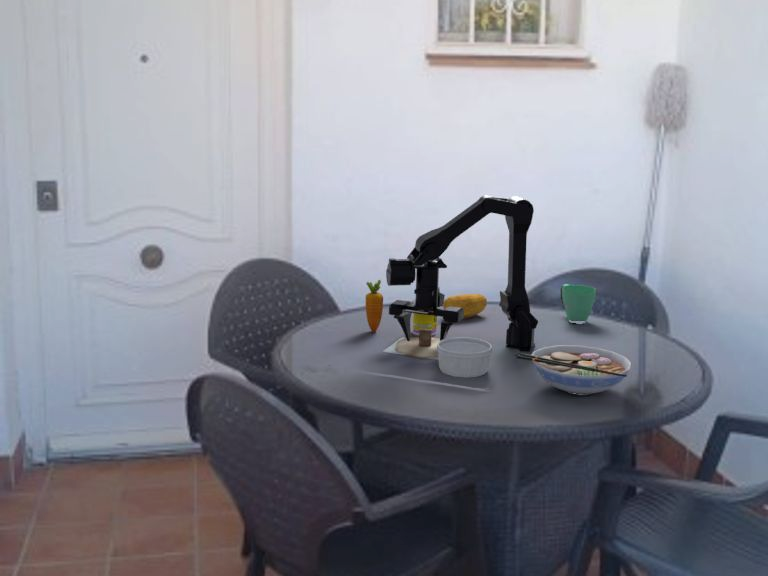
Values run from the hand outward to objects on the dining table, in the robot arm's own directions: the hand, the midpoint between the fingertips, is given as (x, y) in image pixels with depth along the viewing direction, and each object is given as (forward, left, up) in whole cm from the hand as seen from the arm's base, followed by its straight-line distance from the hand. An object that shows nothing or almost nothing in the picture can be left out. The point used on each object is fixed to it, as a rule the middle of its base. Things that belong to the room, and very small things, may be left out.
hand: (425, 343), depth 240 cm
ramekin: (-14, +12, -2) cm, 19 cm away
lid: (0, 0, -2) cm, 2 cm away
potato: (0, -36, -2) cm, 36 cm away
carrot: (+18, -9, -2) cm, 20 cm away
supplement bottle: (+5, -14, -2) cm, 15 cm away
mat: (0, 0, -2) cm, 2 cm away
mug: (-30, -47, -2) cm, 56 cm away
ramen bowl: (-42, +13, -2) cm, 44 cm away
